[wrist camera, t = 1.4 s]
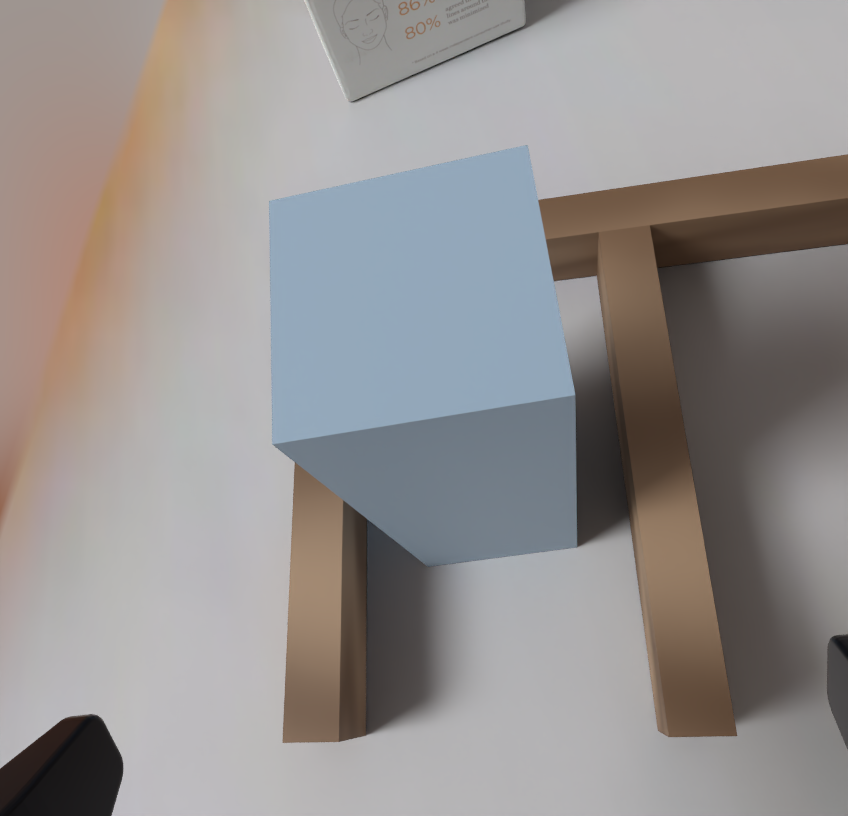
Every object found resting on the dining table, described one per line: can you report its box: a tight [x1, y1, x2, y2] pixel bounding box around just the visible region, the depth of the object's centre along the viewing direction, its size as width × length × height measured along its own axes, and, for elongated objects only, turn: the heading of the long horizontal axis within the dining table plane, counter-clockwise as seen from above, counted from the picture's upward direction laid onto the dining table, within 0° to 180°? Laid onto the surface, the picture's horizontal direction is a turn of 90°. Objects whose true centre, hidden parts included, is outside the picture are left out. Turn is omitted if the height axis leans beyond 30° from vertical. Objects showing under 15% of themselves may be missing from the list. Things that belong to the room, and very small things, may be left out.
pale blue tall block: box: [269, 145, 577, 567], centre depth 17 cm, size 4×4×12 cm
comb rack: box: [283, 155, 848, 743], centre depth 20 cm, size 16×20×2 cm
